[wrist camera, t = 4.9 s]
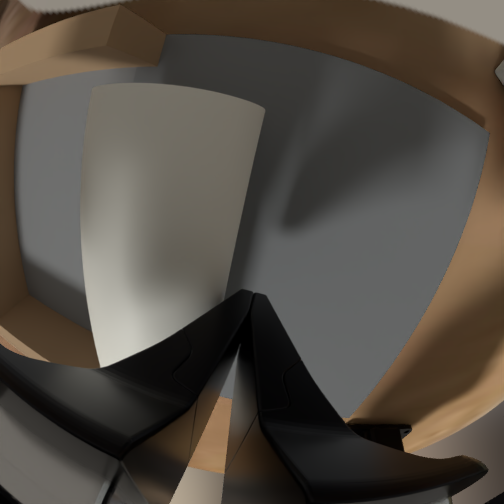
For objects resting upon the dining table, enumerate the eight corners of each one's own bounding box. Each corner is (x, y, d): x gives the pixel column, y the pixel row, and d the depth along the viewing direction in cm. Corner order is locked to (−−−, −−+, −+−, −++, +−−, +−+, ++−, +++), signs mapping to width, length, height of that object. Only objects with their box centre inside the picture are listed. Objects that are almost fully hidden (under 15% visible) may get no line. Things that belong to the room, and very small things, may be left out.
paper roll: (134, 442, 8) (93, 361, 11) (226, 400, 12) (173, 337, 15) (118, 69, 3) (82, 91, 6) (303, 116, 7) (204, 105, 10)
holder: (347, 408, 15) (353, 461, 11) (24, 301, 16) (-7, 329, 12) (480, 132, 8) (543, 140, 4) (19, 67, 9) (-30, 67, 5)
